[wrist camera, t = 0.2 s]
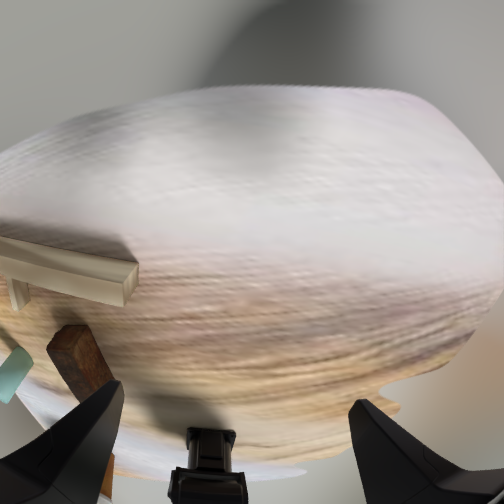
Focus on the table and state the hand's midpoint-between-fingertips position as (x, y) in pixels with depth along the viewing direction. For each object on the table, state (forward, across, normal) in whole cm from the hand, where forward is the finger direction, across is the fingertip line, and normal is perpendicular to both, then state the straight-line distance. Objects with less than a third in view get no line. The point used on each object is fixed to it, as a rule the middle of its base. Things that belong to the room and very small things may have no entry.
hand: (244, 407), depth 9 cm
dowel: (+15, +27, +19) cm, 36 cm away
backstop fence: (+14, +19, +5) cm, 24 cm away
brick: (+15, +14, +15) cm, 26 cm away
